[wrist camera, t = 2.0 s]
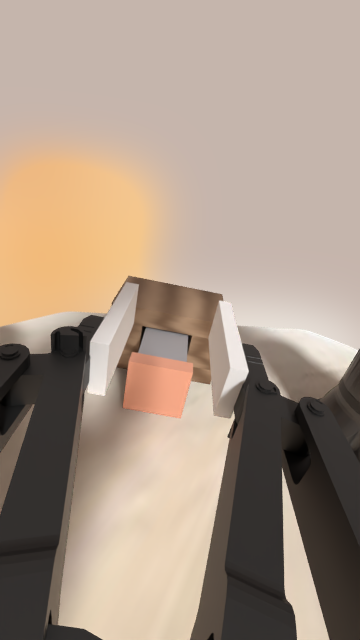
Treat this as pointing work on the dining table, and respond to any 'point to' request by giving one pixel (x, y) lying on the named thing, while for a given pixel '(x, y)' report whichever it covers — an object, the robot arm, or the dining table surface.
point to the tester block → (174, 320)
